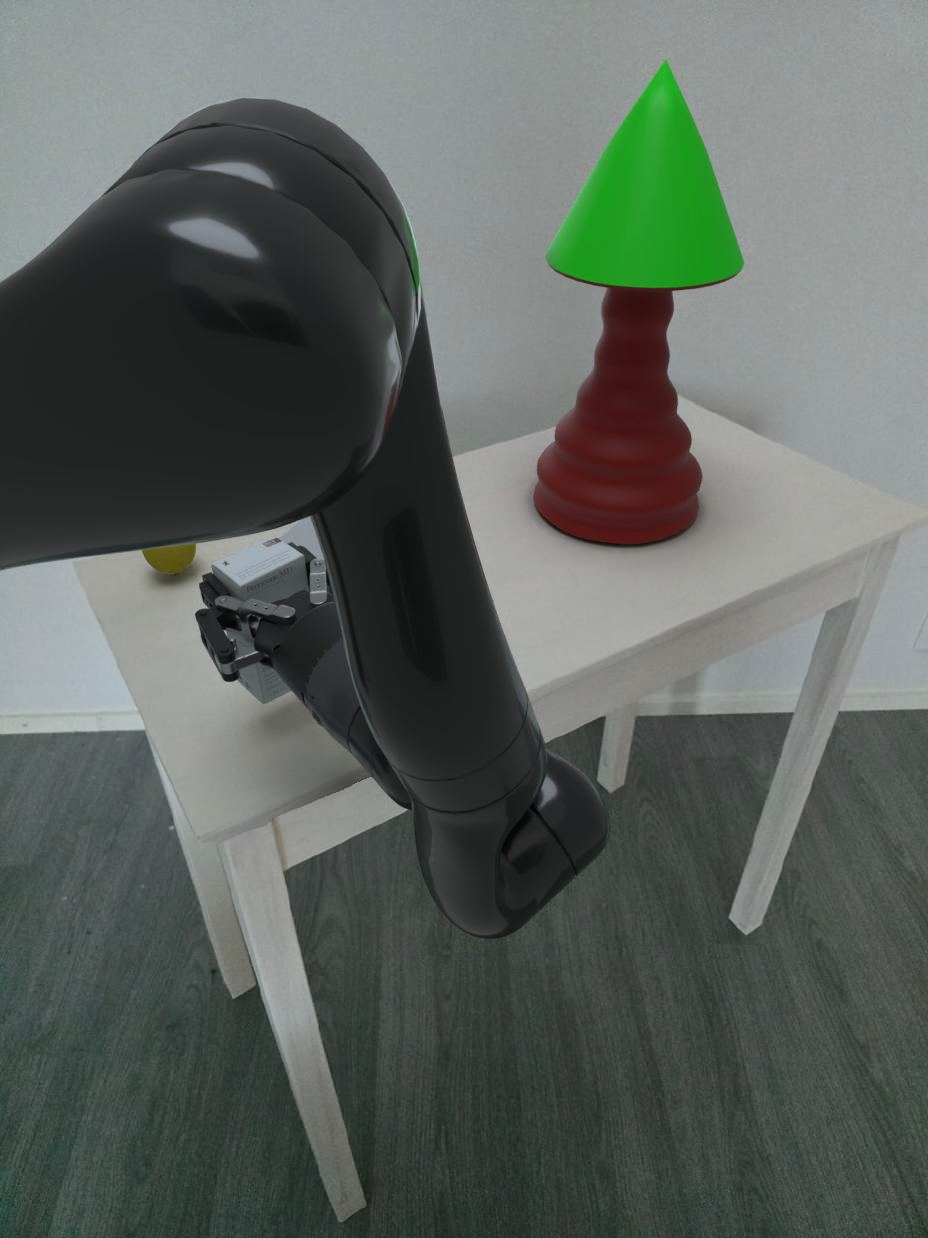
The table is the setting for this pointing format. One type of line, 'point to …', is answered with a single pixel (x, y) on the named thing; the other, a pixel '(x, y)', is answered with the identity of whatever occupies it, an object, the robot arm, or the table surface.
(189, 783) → the table surface
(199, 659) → the table surface
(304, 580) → the cosmetic box
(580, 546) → the table surface
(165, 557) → the lemon
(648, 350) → the table lamp
